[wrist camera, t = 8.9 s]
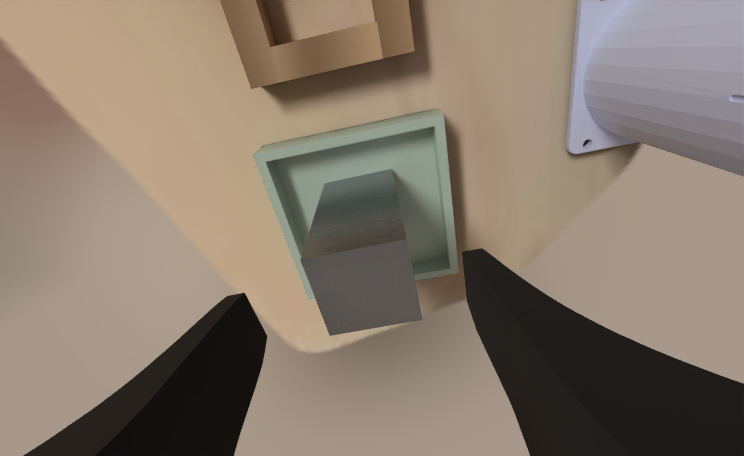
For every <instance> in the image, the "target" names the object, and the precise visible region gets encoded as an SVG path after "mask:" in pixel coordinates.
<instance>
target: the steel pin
mask: <svg viewBox="0 0 744 456" xmlns="http://www.w3.org/2000/svg"><path fill="white" fill-rule="evenodd" d="M300 261H301V263H302V266H303V268H304V271H305V273H306V276H307V278H308V281H309V284H310V286H311V289H312V291H313V294H314V296H315V299H316V301H317V304H318V307H319V309H320V312H321V314H322V317H323V319H324V322H325V324H326V327H327V329H328V332H329V335H330V336H331V335H336V334H342V333H348V332H354V331H360V330H365V329H371V328H377V327H383V326H389V325H394V324H400V323H406V322H412V321H418V320H422V315H421V310H420V305H419V300H418V295H417V290H416V284H415V279H414V274H413V269H412V264H411V259H410V254H409V249H408V244H407V239H406V234H405V229H404V225H403V220H402V215H401V211H400V206H399V201H398V197H397V192H396V187H395V183H394V178H393V174H392V169H388V170H383V171H379V172H374V173H369V174H365V175H360V176H356V177H351V178H346V179H342V180H337V181H332V182H328V183H324V187H323V190H322V193H321V196H320V199H319V202H318V205H317V209H316V212H315V215H314V218H313V221H312V224H311V227H310V231H309V234H308V237H307V240H306V243H305V246H304V250H303V253H302V256H301V259H300Z"/></svg>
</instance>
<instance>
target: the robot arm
mask: <svg viewBox="0 0 744 456" xmlns="http://www.w3.org/2000/svg"><path fill="white" fill-rule="evenodd" d="M586 140H588V144H587V145H586V146H584V147H583V143H584V142H585V141H586ZM637 142H641V143H644V144H647V145H650V146H654V147H656V148H659V149H662V150H665V151H668V152H672V153H675V154H678V155H681V156H684V157H687V158H690V159H693V160H696V161H699V162H702V163H705V164H708V165H711V166H714V167H717V168H720V169H723V170H726V171H729V172H732V173H735V174H738V175H741V176H744V0H602V1H600V0H578V5H577V18H576V30H575V42H574V54H573V67H572V79H571V91H570V103H569V116H568V128H567V140H566V149H567V151H568V152H570V153H572V154H581V153H586V152H591V151H596V150H601V149H606V148H611V147H616V146H621V145H626V144H631V143H637ZM462 255H463V265H464V275H465V285H466V295H467V302H468V305H469V309H470V311H471V314H472V318H473V321H474V323H475V326H476V330H477V332H478V334H479V336H480V338H481V341H482V343H483V345H484V347H485V349H486V351H487V354H488V356H489V358H490V360H491V362H492V364H493V366H494V368H495V370H496V373H497V375H498V377H499V379H500V381H501V383H502V385H503V388H504V390H505V392H506V394H507V396H508V398H509V401H510V403H511V405H512V408H513V410H514V412H515V415H516V418H517V420H518V423H519V426H520V429H521V432H522V434H523V437H524V440H525V442H526V445H527V448H528V451H529V453H530V456H744V384H743V383H740V382H737V381H734V380H731V379H729V378H725V377H723V376H720V375H718V374H715V373H712V372H709V371H707V370H704V369H702V368H699V367H696V366H694V365H691V364H688V363H686V362H683V361H681V360H678V359H675V358H673V357H670V356H668V355H666V354H663V353H661V352H658V351H656V350H654V349H651V348H649V347H646V346H644V345H642V344H640V343H638V342H635V341H633V340H631V339H629V338H627V337H624V336H622V335H620V334H617V333H615V332H613V331H611V330H609V329H607V328H605V327H603V326H601V325H599V324H597V323H595V322H594V321H592V320H590V319H588V318H586V317H584V316H582V315H580V314H578V313H576V312H574V311H573V310H571V309H569V308H567V307H565V306H564V305H562V304H561V303H559V302H557V301H556V300H554V299H552V298H551V297H549V296H548V295H546V294H544V293H543V292H541V291H540V290H538V289H537V288H535V287H534V286H532V285H531V284H530V283H528V282H526V281H525V280H524V279H522V278H521V277H520V276H518V275H517V274H515V273H514V272H513V271H511V270H510V269H509V268H507V267H506V266H505V265H503V264H502V263H501V262H499V261H498V260H497V259H496V258H494V257H493V256H492V255H490V254H489V253H488V252H486V251H485V250H484V249H482V248H481V249H475V250H470V251H465V252H462ZM266 341H267V335H266V333H265V331H264V329H263V327H262V325H261V323H260V321H259V320H258V318H257V316H256V314H255V312H254V310H253V308H252V306H251V304H250V302H249V300H248V298H247V296H246V295H245V293H241V294H235V295H231V296H227V297H226V298H224V299H223V300H222V301H220V302H219V303H218V304H217V305H216V306H214V307H213V308H212V309H211V310H210V311H209V312H208V313H207V314H206V315H204V316H203V317H202V318H201V319H200V320H199V321H198V322H197V323H196V324H195V325H194V326H192V327H191V328H190V329H189V330H188V331H187V332H186V333H185V334H184V335H182V336H181V337H180V338H179V339H178V340H177V341H176V342H175V343H174V344H173V345H171V346H170V347H169V348H168V349H167V350H166V351H165V352H164V353H162V354H161V355H160V356H159V357H158V358H156V359H155V360H154V361H153V362H152V363H151V364H150V365H148V366H147V367H146V368H145V369H144V370H143V371H141V372H140V373H139V374H138V375H136V376H135V377H134V378H133V379H132V380H130V381H129V382H128V383H127V384H125V385H124V386H123V387H122V388H120V389H119V390H118V391H116V392H115V393H114V394H112V395H111V396H110V397H108V398H107V399H106V400H104V401H103V402H102V403H100V404H99V405H98V406H96V407H95V408H94V409H92V410H91V411H89V412H88V413H86V414H85V415H83V416H82V417H81V418H79V419H78V420H77V421H75V422H73V423H72V424H70V425H69V426H67V427H66V428H65V429H63V430H62V431H60V432H59V433H57V434H56V435H55V436H53V437H52V438H50V439H49V440H47V441H46V442H44V443H43V444H41V445H39V446H38V447H36V448H35V449H33V450H32V451H30V452H28V453H27V454H25V455H24V456H234V453H235V449H236V446H237V442H238V439H239V436H240V432H241V429H242V426H243V423H244V420H245V417H246V414H247V411H248V408H249V405H250V401H251V399H252V396H253V393H254V390H255V387H256V383H257V380H258V377H259V374H260V371H261V367H262V363H263V358H264V353H265V347H266Z"/></svg>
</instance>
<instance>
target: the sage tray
mask: <svg viewBox="0 0 744 456" xmlns="http://www.w3.org/2000/svg"><path fill="white" fill-rule="evenodd" d="M253 156H254V158H255V161H256V164H257V166H258V169H259V171H260V174H261V177H262V179H263V182H264V184H265V187H266V190H267V192H268V195H269V197H270V200H271V202H272V205H273V208H274V210H275V213H276V215H277V218H278V221H279V223H280V226H281V228H282V231H283V234H284V236H285V239H286V241H287V244H288V247H289V249H290V252H291V254H292V257H293V259H294V262H295V265H296V267H297V270H298V272H299V275H300V278H301V280H302V283H303V285H304V288H305V291H306V293H307V296H308V298H309V299H313V298H315V296H314V294H313V291H312V289H311V286H310V284H309V281H308V278H307V276H306V273H305V271H304V268H303V266H302V263H301V261H300V259H301V256H302V253H303V250H304V246H305V243H306V240H307V237H308V234H309V231H310V227H311V224H312V221H313V218H314V215H315V212H316V209H317V205H318V202H319V199H320V196H321V193H322V190H323V187H324V183H328V182H332V181H337V180H342V179H346V178H351V177H356V176H360V175H365V174H369V173H374V172H379V171H383V170H388V169H392V174H393V178H394V183H395V187H396V192H397V197H398V201H399V206H400V211H401V215H402V220H403V225H404V229H405V234H406V239H407V244H408V249H409V254H410V259H411V264H412V269H413V274H414V279H415V281H418V280H424V279H430V278H435V277H441V276H447V275H453V274H459V270H458V259H457V249H456V238H455V227H454V217H453V206H452V196H451V185H450V174H449V164H448V153H447V143H446V132H445V122H444V114H443V113H442V112H441V111H440V110H438V109H437V108H436V109H432V110H427V111H422V112H418V113H413V114H408V115H404V116H399V117H394V118H390V119H385V120H380V121H376V122H371V123H366V124H362V125H357V126H353V127H348V128H343V129H339V130H334V131H329V132H325V133H320V134H315V135H311V136H306V137H301V138H297V139H292V140H287V141H283V142H278V143H273V144H269V145H264V146H262V147H261V148H260V149H259V150H257V151H256V152H255V153H254V154H253Z"/></svg>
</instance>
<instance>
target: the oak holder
mask: <svg viewBox="0 0 744 456" xmlns="http://www.w3.org/2000/svg"><path fill="white" fill-rule="evenodd" d="M220 1H221V4H222V7H223V10H224V13H225V16H226V18H227V21H228V24H229V27H230V30H231V33H232V35H233V38H234V41H235V44H236V47H237V50H238V52H239V55H240V58H241V61H242V64H243V67H244V69H245V72H246V75H247V78H248V81H249V83H250V86H251V89H253V88H258V87H262V86H266V85H271V84H275V83H279V82H284V81H288V80H292V79H297V78H301V77H305V76H310V75H314V74H318V73H323V72H327V71H331V70H336V69H340V68H344V67H349V66H353V65H357V64H362V63H366V62H370V61H375V60H379V59H383V58H388V57H392V56H396V55H401V54H405V53H409V52H414V51H415V50H414V41H413V33H412V25H411V17H410V9H409V1H408V0H372V4H373V10H374V15H375V21H376V22H373V23H369V24H364V25H360V26H356V27H352V28H348V29H344V30H340V31H335V32H331V33H327V34H323V35H319V36H315V37H310V38H306V39H302V40H298V41H294V42H290V43H286V44H281V45H277V43H276V39H275V36H274V33H273V29H272V26H271V23H270V19H269V16H268V13H267V9H266V6H265V3H264V0H220Z"/></svg>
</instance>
